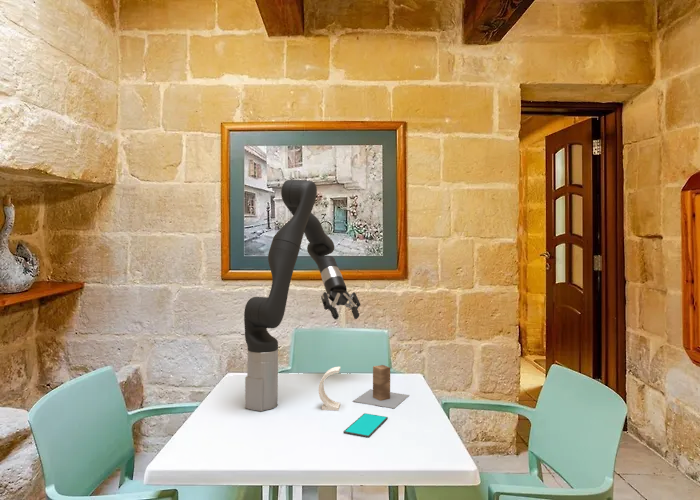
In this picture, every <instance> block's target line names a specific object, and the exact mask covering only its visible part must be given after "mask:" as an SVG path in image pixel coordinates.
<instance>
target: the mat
mask: <svg viewBox="0 0 700 500" xmlns="http://www.w3.org/2000/svg"><path fill="white" fill-rule="evenodd" d="M409 396H410V394H404V393H399V392H398V393H397V392H391V391H390V399H386V400H382V401H379V400H377V399H375V398H373V388H372V389H371V388H370V389H368V390H367V391H365V392H364V393H362V394H361V395H359V396H357V398H355V399H354V400H352V402H353V403H359V404H363V405H364V404H365V405H371V406H376V407H383V408H387V409H396V408H397V407H398V406H400V404H402V403H403V402H404V401H405V400H406V399H407V398H409Z"/></svg>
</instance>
